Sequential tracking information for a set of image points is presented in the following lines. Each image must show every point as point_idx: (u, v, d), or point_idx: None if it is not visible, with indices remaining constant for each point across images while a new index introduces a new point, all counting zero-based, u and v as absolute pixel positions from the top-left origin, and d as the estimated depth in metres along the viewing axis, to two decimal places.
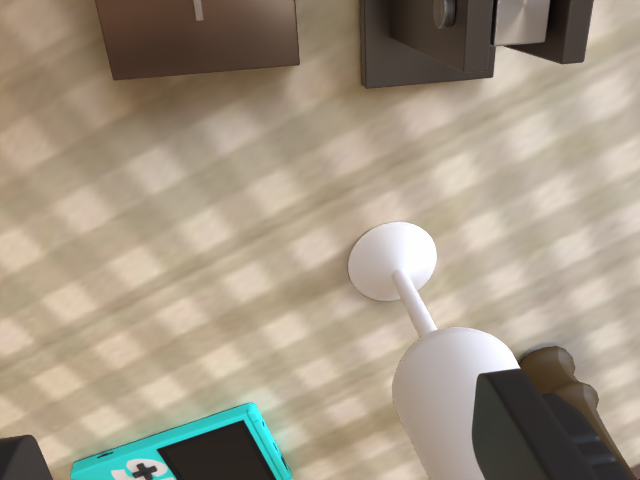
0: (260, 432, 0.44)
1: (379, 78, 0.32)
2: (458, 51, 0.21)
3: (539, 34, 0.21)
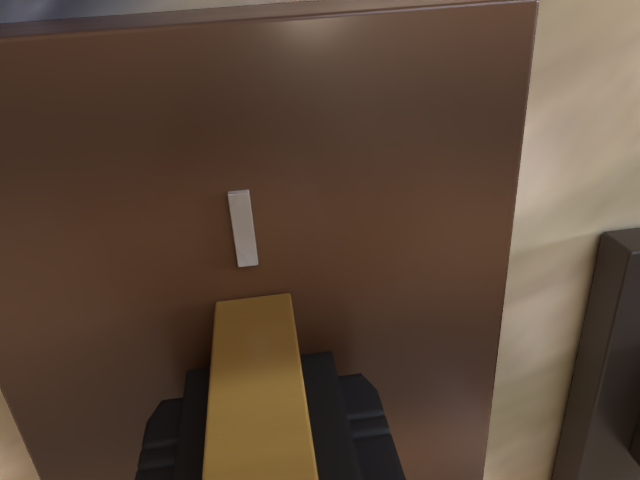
0: None
1: None
2: None
3: None
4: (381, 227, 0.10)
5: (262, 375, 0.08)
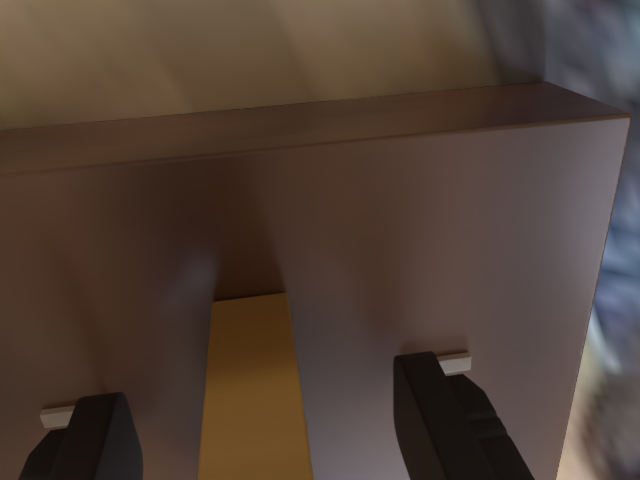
0: None
1: None
2: None
3: None
4: None
5: (258, 374, 0.08)
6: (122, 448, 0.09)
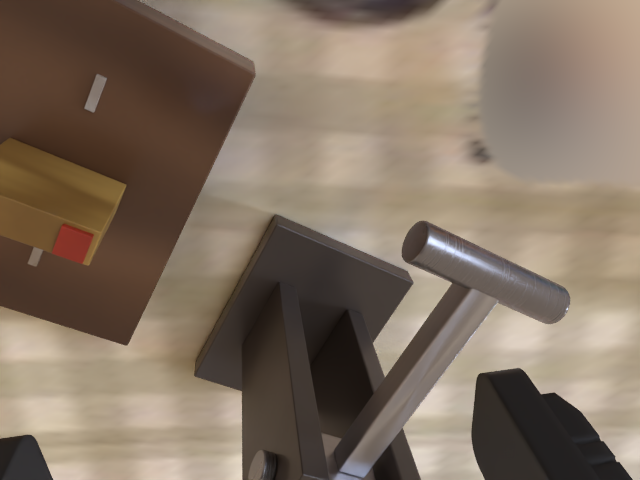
0: None
1: (212, 373, 0.29)
2: None
3: None
4: (156, 129, 0.21)
5: None
6: None
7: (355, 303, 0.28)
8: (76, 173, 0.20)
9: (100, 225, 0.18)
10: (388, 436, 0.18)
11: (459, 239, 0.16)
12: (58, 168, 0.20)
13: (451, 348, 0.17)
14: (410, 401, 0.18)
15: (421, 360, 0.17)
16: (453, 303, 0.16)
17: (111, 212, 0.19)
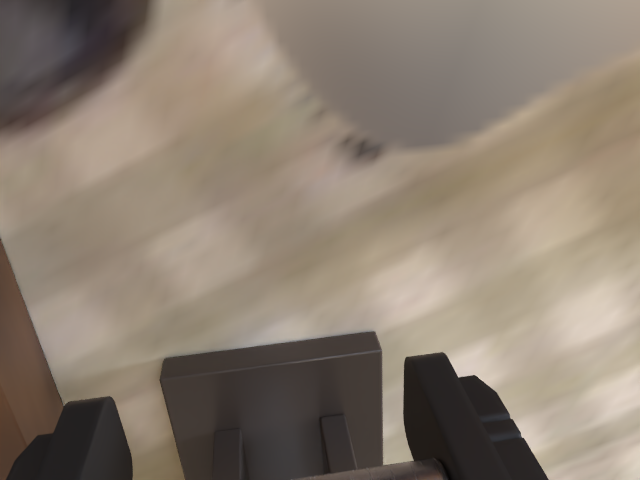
0: None
1: None
2: None
3: None
4: None
5: None
6: (109, 454, 0.09)
7: (324, 407, 0.20)
8: None
9: None
10: None
11: None
12: None
13: None
14: None
15: None
16: None
17: None
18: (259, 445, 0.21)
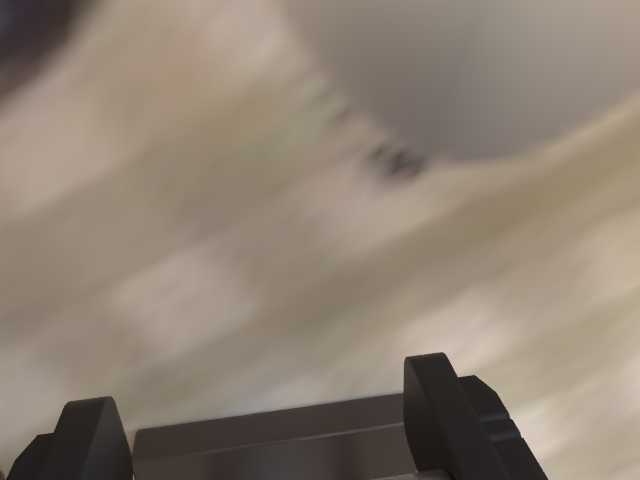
0: None
1: None
2: None
3: None
4: None
5: None
6: (110, 453, 0.09)
7: None
8: None
9: None
10: None
11: None
12: None
13: None
14: None
15: None
16: None
17: None
18: None
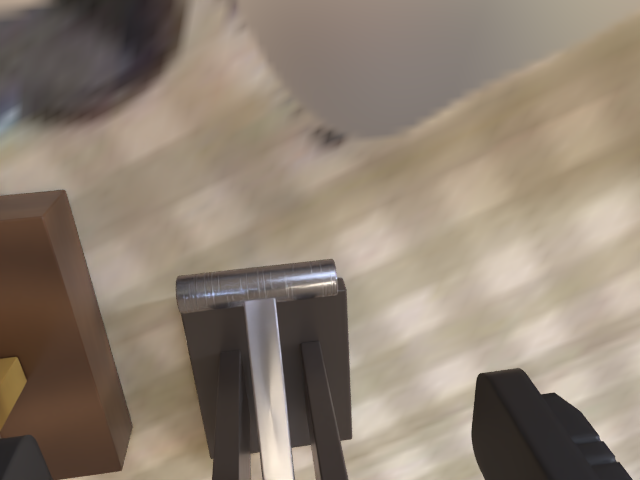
0: None
1: None
2: None
3: None
4: (4, 303, 0.22)
5: None
6: None
7: (303, 335, 0.27)
8: None
9: None
10: (285, 472, 0.19)
11: (209, 273, 0.19)
12: None
13: (270, 359, 0.19)
14: (276, 426, 0.19)
15: (254, 383, 0.19)
16: None
17: None
18: None
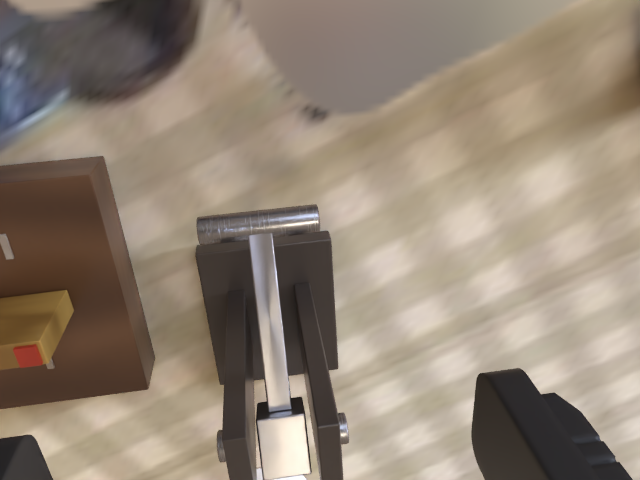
0: None
1: None
2: None
3: (304, 468, 0.24)
4: (57, 245, 0.28)
5: None
6: None
7: (296, 277, 0.33)
8: (27, 302, 0.28)
9: (39, 335, 0.26)
10: (281, 365, 0.25)
11: (222, 214, 0.24)
12: (14, 305, 0.28)
13: (268, 279, 0.24)
14: (273, 331, 0.25)
15: (256, 298, 0.24)
16: (250, 252, 0.25)
17: (50, 320, 0.27)
18: None
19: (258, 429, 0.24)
